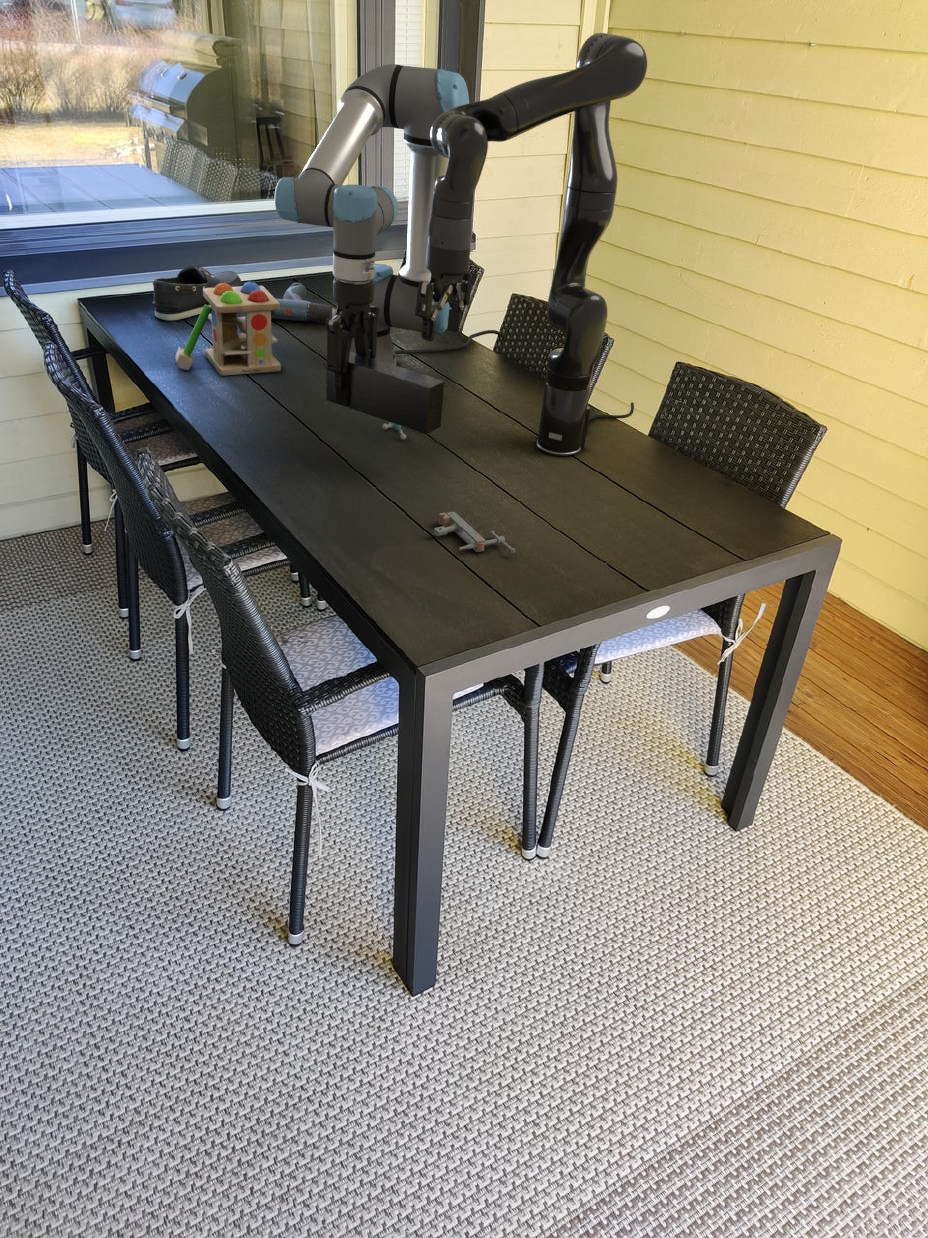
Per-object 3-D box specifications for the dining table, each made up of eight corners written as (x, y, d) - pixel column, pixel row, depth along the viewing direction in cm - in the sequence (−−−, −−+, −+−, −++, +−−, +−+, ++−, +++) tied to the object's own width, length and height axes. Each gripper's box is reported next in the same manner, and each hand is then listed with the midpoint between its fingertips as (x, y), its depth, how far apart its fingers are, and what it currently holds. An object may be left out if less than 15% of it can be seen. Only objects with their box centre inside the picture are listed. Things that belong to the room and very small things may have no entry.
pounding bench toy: (183, 379, 220) (176, 299, 210) (169, 357, 231) (162, 280, 221) (282, 371, 230) (280, 294, 220) (264, 350, 240) (262, 276, 230)
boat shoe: (260, 299, 274) (258, 261, 269) (172, 322, 251) (168, 281, 245) (227, 291, 280) (224, 253, 275) (137, 313, 256) (132, 272, 251)
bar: (326, 400, 191) (326, 354, 186) (341, 393, 195) (342, 348, 190) (426, 434, 182) (429, 387, 177) (441, 426, 185) (444, 380, 180)
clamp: (424, 515, 172) (473, 506, 177) (423, 526, 174) (472, 516, 178) (467, 556, 162) (517, 545, 167) (465, 568, 163) (516, 556, 168)
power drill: (344, 304, 276) (335, 327, 259) (277, 298, 275) (264, 321, 258) (344, 285, 273) (335, 306, 256) (277, 279, 272) (264, 300, 255)
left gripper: (339, 293, 170) (337, 418, 183) (399, 273, 183) (393, 392, 196) (305, 283, 173) (306, 408, 186) (366, 265, 186) (363, 382, 199)
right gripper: (445, 253, 162) (436, 349, 171) (488, 241, 173) (478, 332, 182) (407, 243, 165) (401, 338, 174) (453, 232, 176) (444, 322, 185)
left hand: (351, 399), depth 191 cm, fingers closed on bar, 5 cm apart
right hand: (440, 335), depth 178 cm, fingers open, 8 cm apart
